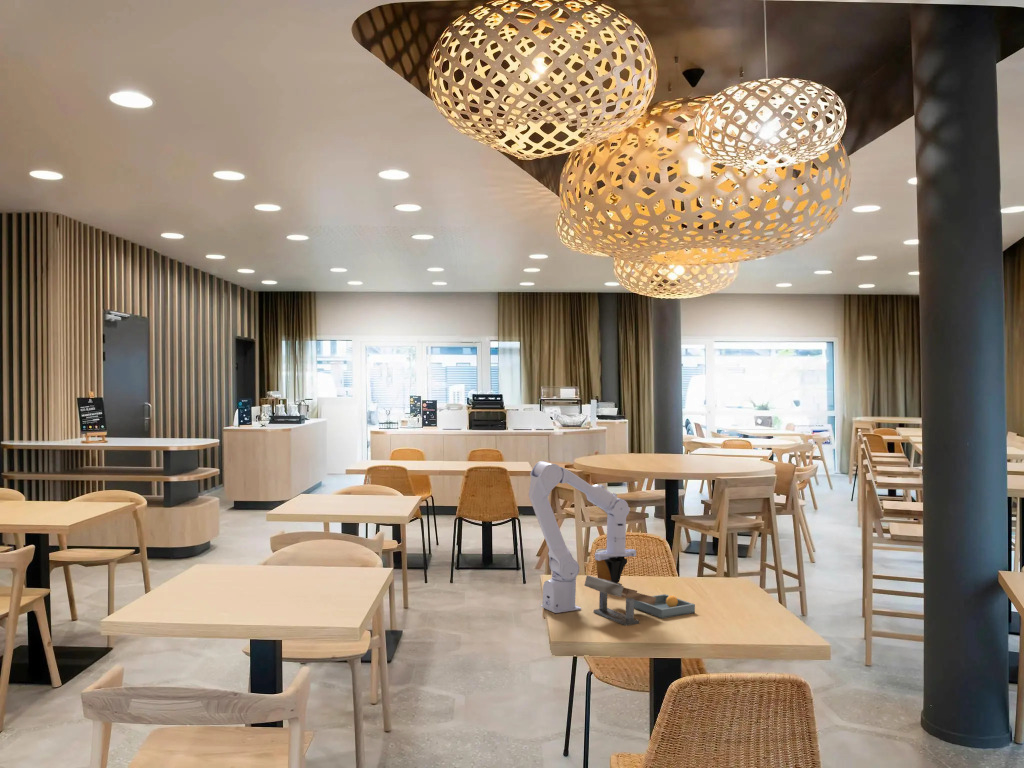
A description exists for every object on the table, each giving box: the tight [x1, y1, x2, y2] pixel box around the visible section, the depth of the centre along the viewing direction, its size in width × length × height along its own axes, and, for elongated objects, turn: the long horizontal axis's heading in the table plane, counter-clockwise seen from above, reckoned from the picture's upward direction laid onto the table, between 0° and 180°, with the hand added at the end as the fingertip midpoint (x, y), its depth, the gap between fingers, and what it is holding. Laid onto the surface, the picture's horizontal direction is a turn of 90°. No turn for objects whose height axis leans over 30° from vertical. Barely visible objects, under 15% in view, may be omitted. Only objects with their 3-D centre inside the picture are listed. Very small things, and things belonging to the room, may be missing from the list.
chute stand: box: [593, 591, 640, 626], centre depth 225 cm, size 5×15×7 cm, turn 31°
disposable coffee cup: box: [594, 548, 619, 583], centre depth 261 cm, size 10×10×12 cm
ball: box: [666, 595, 678, 607], centre depth 237 cm, size 4×4×4 cm
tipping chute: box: [583, 575, 656, 605], centre depth 230 cm, size 20×17×3 cm
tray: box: [634, 593, 696, 619], centre depth 235 cm, size 13×13×2 cm
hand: (615, 581), depth 239 cm, fingers closed
